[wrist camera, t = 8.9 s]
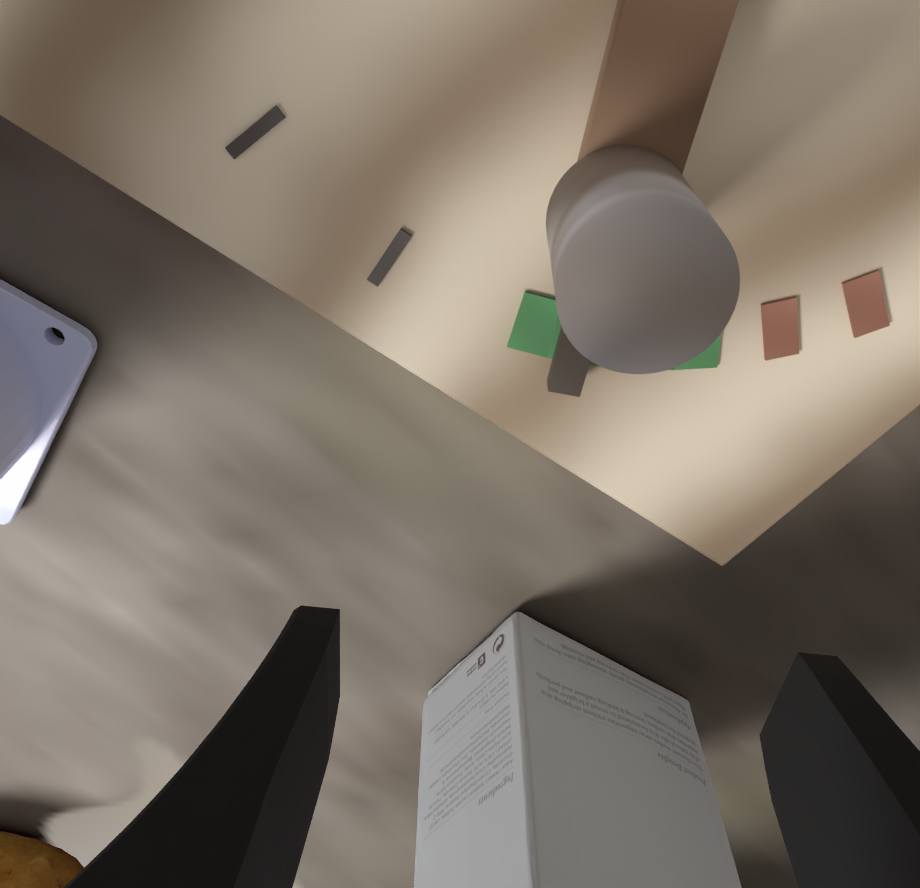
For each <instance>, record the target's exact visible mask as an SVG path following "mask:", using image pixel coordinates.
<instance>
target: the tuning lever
mask: <svg viewBox="0 0 920 888" xmlns="http://www.w3.org/2000/svg"><path fill="white" fill-rule="evenodd" d="M738 2H739V0H617V4H616V8H615V12H614V16H613V20H612V24H611V28H610V32H609V36H608V40H607V44H606V48H605V52H604V56H603V60H602V64H601V68H600V72H599V76H598V80H597V84H596V88H595V92H594V96H593V100H592V104H591V108H590V112H589V116H588V120H587V124H586V128H585V132H584V136H583V140H582V144H581V148H580V152H579V156H578V160H577V162H576V163H575V164H574V165H573V166H572V167H570V168H569V169H568V170H567V171H566V173H565V174H564V175H563V176H562V178H561V179H560V180H559V182H558V184H557V185H556V187H555V189H554V191H553V193H552V195H551V198H550V201H549V204H548V208H547V214H546V232H547V240H548V247H549V255H550V262H551V269H552V277H553V284H554V291H555V298H556V306H557V312H558V316H559V321H560V323H561V329H560V333H559V336H558V340H557V344H556V347H555V351H554V355H553V358H552V362H551V366H550V369H549V373H548V377H547V388H548V392H554V393H559V394H565V395H570V396H576V397H580V395H581V391H582V388H583V385H584V382H585V378H586V375H587V372H588V368H589V365H590V362H593V363H595V364H597V365H599V366H601V367H603V368H606V369H608V370H611V371H615V372H619V373H626V374H651V373H657V372H662V371H666V370H669V369H672V368H675V367H678V366H680V365H682V364H684V363H686V362H688V361H690V360H691V359H693V358H695V357H696V356H698V355H699V354H700V353H702V352H703V351H704V350H706V349H707V348H708V347H709V346H710V345H711V344H712V343H713V342H714V341H715V340H716V339H717V338H718V336H719V335H720V334H721V333H722V332H723V330H724V329H725V327H726V325H727V324H728V322H729V321H730V318H731V316H732V314H733V312H734V310H735V307H736V304H737V301H738V296H739V290H740V270H739V264H738V260H737V256H736V254H735V251H734V249H733V247H732V245H731V243H730V241H729V240H728V238H727V237H726V235H725V234H724V232H723V231H722V230H721V228H720V227H719V225H718V224H717V223H716V221H715V220H714V219H713V217H712V216H711V214H710V213H709V212H708V210H707V209H706V207H705V206H704V205H703V203H702V202H701V200H700V199H699V198H698V196H697V195H696V193H695V192H694V191H693V189H692V188H691V187H690V185H689V184H688V182H687V181H686V180H685V178H684V177H683V175H682V174H683V171H684V168H685V164H686V161H687V158H688V155H689V152H690V149H691V146H692V143H693V140H694V137H695V134H696V131H697V128H698V125H699V122H700V119H701V115H702V112H703V109H704V106H705V103H706V100H707V97H708V94H709V91H710V88H711V85H712V82H713V79H714V76H715V73H716V70H717V66H718V63H719V60H720V57H721V54H722V51H723V48H724V45H725V42H726V39H727V36H728V33H729V30H730V27H731V24H732V21H733V17H734V14H735V11H736V8H737V5H738Z"/></svg>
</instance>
